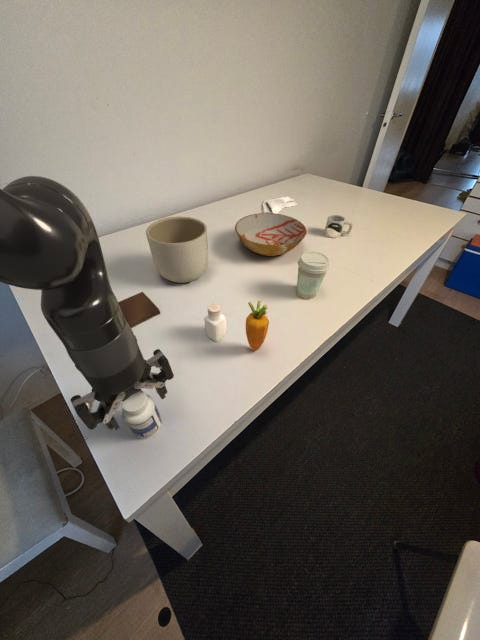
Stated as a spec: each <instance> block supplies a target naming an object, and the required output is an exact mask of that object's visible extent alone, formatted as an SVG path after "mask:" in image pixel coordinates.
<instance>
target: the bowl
mask: <svg viewBox="0 0 480 640" xmlns="http://www.w3.org/2000/svg"><path fill="white" fill-rule="evenodd" d="M234 230H235V234H236V235H237V237H238V239H239V240H240V241H241V243H242V244H243V245H244V246H245V247H246V248H248V250H250V251H252V252H254V253H256V254H258V255H261V256H266V257H275V256H279V255H280V256H281V255H284V254H287V253H289V252H290V251H292V250H294V249H295V248H296V247H297V246H298V245H299V244H301V242H302V241H303V240H304V239H305V237H306V235H307V233H308V232H307V227H306V226H305V225H304V224H303V223H302V222H301V221H300V220H298V219H296V218H294V217H292V216H288V215H286V214H281V213H278V214H274V213H264V212H259V213H253V214H249V215H246V216H244V217H242V218H240V219H238V221H236V223H235V225H234Z"/></svg>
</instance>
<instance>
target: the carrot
mask: <svg viewBox="0 0 480 640" xmlns="http://www.w3.org/2000/svg"><path fill="white" fill-rule="evenodd" d="M247 304H248V306H249V307H250V310H251V312H250V313H249V315H247V317H246V319H245V335H246V338H247V343H248V345H249V347H250V349H251V350H252V351H253V352H257V351H259V349H260V348H261V346H262V345H263V344H264V341H265V339H266V338H267V334H268V330H269V324H270V320H269V318H268V316H267V314H268V311H267V310H268V305H267V304H264V305H262V307H261V304H262V300H258V301H257V303H256V309H255V307H254V304H253V303H252V301H249V302H248V303H247ZM260 307H261V308H260Z"/></svg>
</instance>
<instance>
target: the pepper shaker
mask: <svg viewBox="0 0 480 640" xmlns="http://www.w3.org/2000/svg"><path fill="white" fill-rule="evenodd" d="M203 320H204V329H205V335H206V336H207V337H208V338H210V339H212V340H213V341H214V342H218V341H220V340H221V339H222V338H223V337H224V336H226V335H227V317H226V315H224V314H223V313H222V305H221V303H219V302H211V303H209V304H208V305H207V314H206V315H205V317H204V319H203Z"/></svg>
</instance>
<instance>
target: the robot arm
mask: <svg viewBox="0 0 480 640" xmlns="http://www.w3.org/2000/svg"><path fill="white" fill-rule="evenodd" d="M102 249H103V248H102V246H101V243H100V239H99V236H98V232H97V229H96V226H95V223H94V221H93V218H92V216H91V214H90V212H89V211H88V209H87V207H86V206H85V204H84V203H83V201H82V200H81V199H80V198H79V196H77V195H76V194H75V193H74V192H73V190H71V189H70V188H68V187H67V186H65V185H64V184H62V183H60V182H58V181H56V180H53V179H51V178H48V177H45V176H39V175H28V176H22V177H19V178H17V179H14V180H12V181H11V182H9V183H8V184H7V185H5V186H4V187H3V188H0V283H3V284H5V285H9V286H12V287H17V288H21V289H24V290H25V289H27V290H34V291H41V295H40V311H41V313H42V315H43V317H44V319H45V320H46V323H47V324H48V326H49V327H50V328H51V329H52V331H53V332H54V334H55V335H56V336H57V338H58V339H59V341H60V342H61V343H62V345H63V347H64V348H65V351H66V353H67V355H68V357H69V359H70V360H71V361H72V363H73V364H74V367H75V368H76V370H77V371H78V372H80V374H81V375H82V376H83V378H84V379H85V380H86V381H87V383H88V384H89V385H90V387H91V392H89V393H87V394H85V395H83V396H81V395H80V394H75V395H73V396H72V397H71V398H70V402H71V404H72V407H73V409H74V411H75V413H76V415H77V417H78V418H79V419H80V420H81V421H82V422H83V424H84V425H85V427H87V430H90V431H91V430H95V429H96V428H97V427H98V425H99V424H104V425H105V427H107V429H108V430H109V431H113V430H115V431H118V430H119V429H120V428H121V426H120V425H119V422H118V421H117V419H116V418H115V416H114V414H115V413H117V412H118V410H119V408H120V405H121V404H122V402H123V401H125V400H126V399H128V398H129V397H130V396H131V395H133V394H136V393H138V392H139V391H141V390H142V389H145V390H146V389H147V390H153V389H155V391H156V393H157V395H159V396H158V397H160V400H164V399H165V398H166V394H168V389H167V387H166V382H167V381H171V380H172V379H173V378H175V375H174V372H173V369H172V367H171V365H170V362H169V360H168V358H167V356H166V355H165V354H164V353H163V352H162V350H161V349H160V348H157V349H155V350H154V351H153V353H152V354H153V356H151V357H150V358H148V359H145V358H144V355H143V353H142V351H141V348H140V346H139V344H138V339H137V336H136V335H135V333H134V331H133V329H132V328H131V327H130V326H129V324H128V322H127V321H126V319H125V317H124V315H123V313H122V310H121V308H120V305H119V303H118V302H119V301H118V298H117V296H116V295H115V293H114V291H113V288H112V286H111V282H110V280H109V275H108V271H107V266H106V261H105V257H104V253H103V250H102ZM152 367H154V368H156V369H158V368H159V372H158V373H157V372H152ZM95 401H97V402H99V404H98V406H97V409H96V411H94V412H92V410H93V409H92V408H93V404H94V402H95Z"/></svg>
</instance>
